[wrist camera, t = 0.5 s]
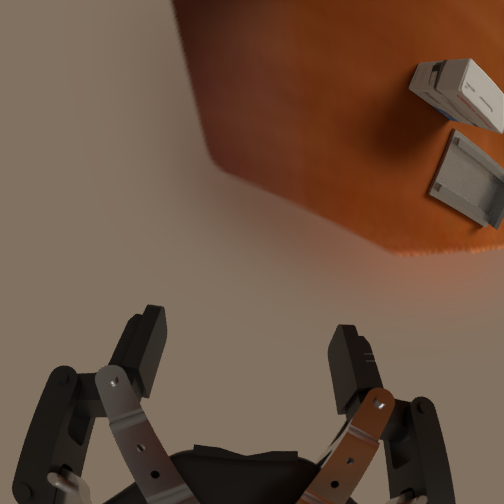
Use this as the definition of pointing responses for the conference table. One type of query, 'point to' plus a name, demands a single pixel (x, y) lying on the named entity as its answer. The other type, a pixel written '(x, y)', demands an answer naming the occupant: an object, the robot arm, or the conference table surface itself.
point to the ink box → (460, 92)
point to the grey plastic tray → (470, 181)
